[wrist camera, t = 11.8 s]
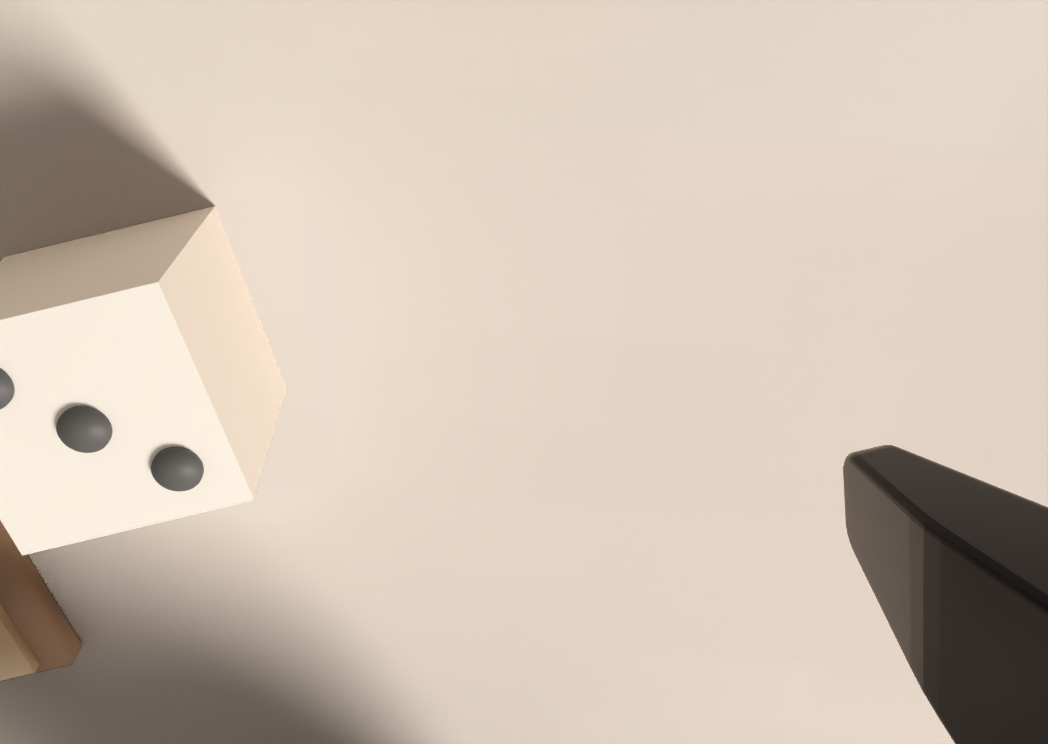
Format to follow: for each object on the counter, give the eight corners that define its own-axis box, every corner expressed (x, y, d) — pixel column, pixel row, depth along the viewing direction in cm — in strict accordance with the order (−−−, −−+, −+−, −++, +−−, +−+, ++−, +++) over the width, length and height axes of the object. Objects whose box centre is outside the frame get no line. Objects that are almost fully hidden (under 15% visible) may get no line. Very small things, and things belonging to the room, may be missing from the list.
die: (287, 388, 21) (253, 503, 16) (100, 433, 21) (20, 559, 16) (215, 204, 18) (156, 284, 14) (7, 255, 18) (-110, 348, 14)
